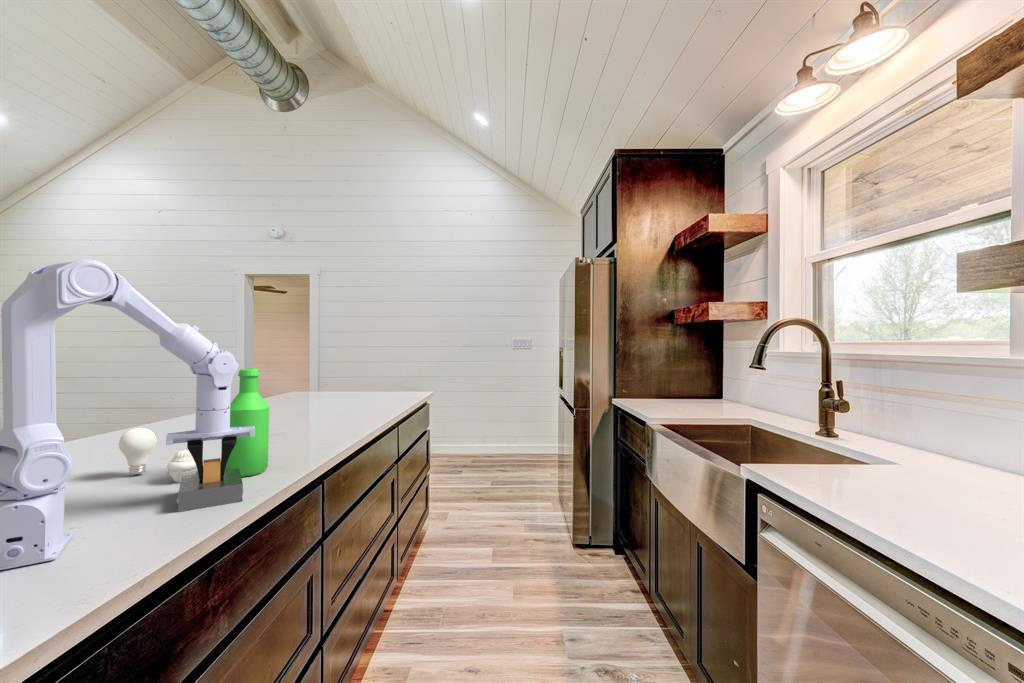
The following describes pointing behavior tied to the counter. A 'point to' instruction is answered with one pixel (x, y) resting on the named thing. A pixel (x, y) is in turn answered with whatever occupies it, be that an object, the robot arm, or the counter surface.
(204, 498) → the grey slotted block
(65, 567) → the counter surface
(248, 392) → the bottle
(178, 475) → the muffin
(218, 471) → the orange rectangular block
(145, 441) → the light bulb
